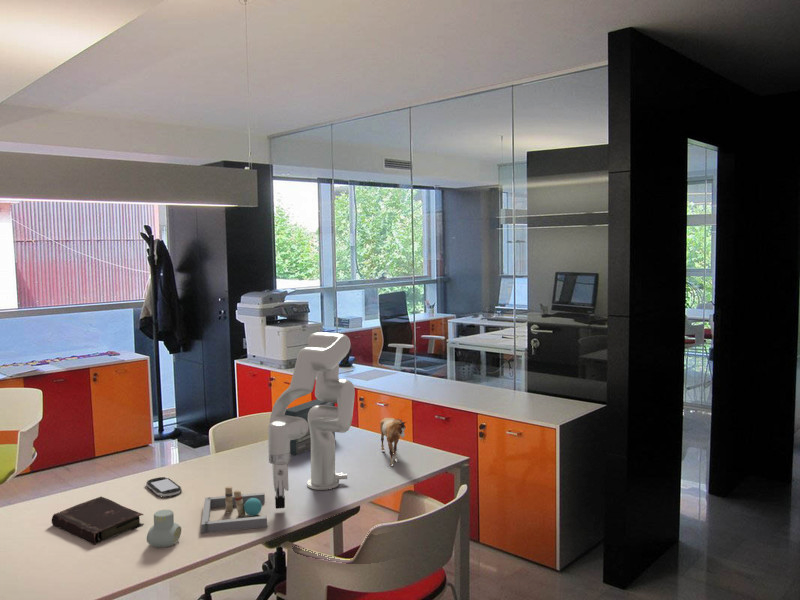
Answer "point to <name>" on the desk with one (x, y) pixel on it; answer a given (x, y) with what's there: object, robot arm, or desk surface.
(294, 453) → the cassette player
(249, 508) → the ball
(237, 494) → the front pin
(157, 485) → the gaming console
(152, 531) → the air freshener
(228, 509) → the back pin
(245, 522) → the pin pen
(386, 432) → the horse figurine
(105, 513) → the diary
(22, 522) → the desk surface
